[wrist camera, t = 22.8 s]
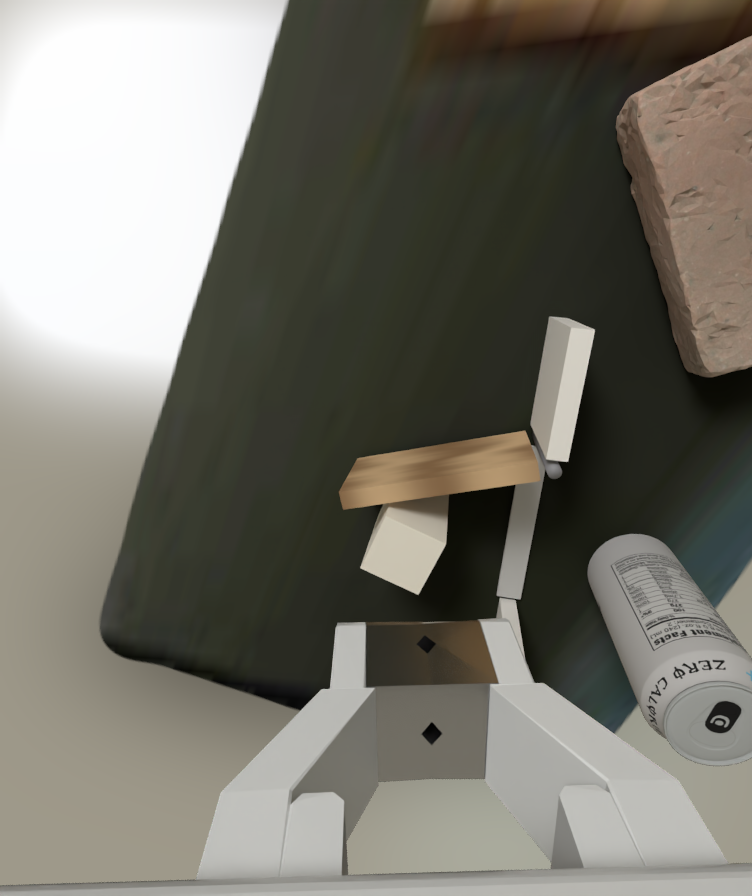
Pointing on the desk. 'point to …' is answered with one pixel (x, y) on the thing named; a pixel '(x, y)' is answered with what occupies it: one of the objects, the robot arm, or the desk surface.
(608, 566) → the energy drink can
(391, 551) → the block
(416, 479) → the door
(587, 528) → the desk surface
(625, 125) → the brick
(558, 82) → the desk surface
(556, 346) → the doorframe
